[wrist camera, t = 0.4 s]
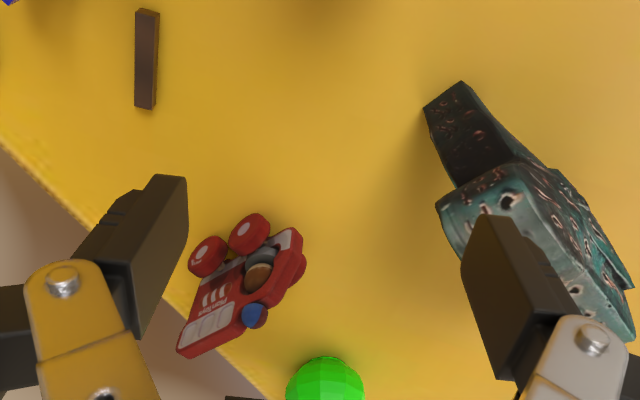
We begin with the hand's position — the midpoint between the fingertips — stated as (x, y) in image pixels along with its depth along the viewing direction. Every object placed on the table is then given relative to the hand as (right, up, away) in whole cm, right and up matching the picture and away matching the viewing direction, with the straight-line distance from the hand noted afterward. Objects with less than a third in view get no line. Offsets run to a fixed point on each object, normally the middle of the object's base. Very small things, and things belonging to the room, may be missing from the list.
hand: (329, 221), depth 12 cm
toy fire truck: (-7, -4, +31) cm, 32 cm away
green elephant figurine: (+15, +4, +24) cm, 28 cm away
